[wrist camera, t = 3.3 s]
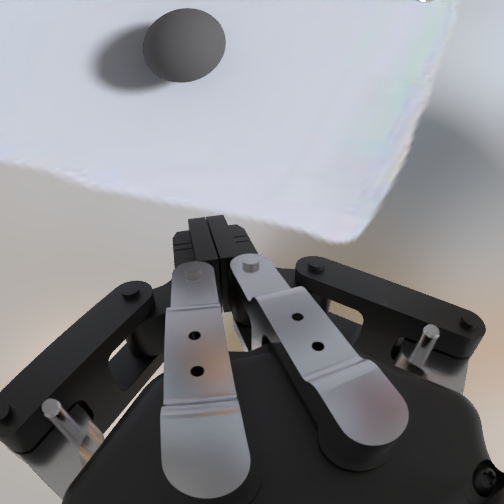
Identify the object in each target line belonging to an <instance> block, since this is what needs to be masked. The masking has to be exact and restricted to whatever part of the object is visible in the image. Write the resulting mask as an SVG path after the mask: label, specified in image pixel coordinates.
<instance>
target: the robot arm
mask: <svg viewBox="0 0 504 504" xmlns="http://www.w3.org/2000/svg"><path fill="white" fill-rule="evenodd" d="M188 224H189V231H181V232H177V233H176V234H175V236H174V237H173V250H174V263H175V269H174V271H173V273H172V279H171V281H169V282H168V283H167V284H165V285H163V286H160V287H158V288H155V289H152V287H151V286H150V285H149V284H148V283H146V282H143V281H130V282H126V283H124V284H121V285H120V286H118V287H117V288H115V289H114V290H113V291H112V292H111V293H109V294H108V295H107V296H106V297H105V298H103V299H102V300H101V301H100V302H99V303H97V304H96V305H95V306H94V307H93V308H91V309H90V310H89V311H88V312H87V313H86V314H85V315H83V316H82V317H81V318H80V319H79V320H78V321H76V322H75V323H74V324H73V325H72V326H71V327H70V328H68V329H67V330H66V331H65V332H64V333H63V334H62V335H61V336H59V337H58V338H57V339H56V340H55V341H54V342H53V343H52V344H51V345H49V346H48V347H47V348H46V349H45V350H44V351H43V352H42V353H41V354H40V355H38V356H37V357H36V358H35V359H34V360H33V361H32V362H31V363H30V364H29V365H28V366H27V367H26V368H24V369H23V370H22V371H21V372H20V373H19V374H18V375H17V376H16V377H15V378H14V379H13V380H12V381H11V382H10V383H9V384H8V385H7V386H6V387H5V388H4V389H3V390H2V391H1V392H0V441H1V442H3V443H4V444H5V445H6V446H7V447H8V449H9V450H10V451H12V452H13V453H14V454H15V455H16V456H18V457H19V458H20V459H22V460H23V461H24V462H26V463H27V464H28V465H29V466H30V467H31V468H32V469H33V470H34V472H35V473H36V474H37V475H38V476H39V477H40V478H41V479H42V480H43V481H44V482H45V483H46V484H47V485H48V486H49V487H50V488H51V489H52V490H53V491H54V492H55V493H56V494H57V495H58V496H59V497H60V498H62V499H63V502H62V504H504V473H503V472H501V471H499V470H498V469H497V468H496V467H495V466H494V464H493V463H492V461H491V459H490V457H489V454H488V452H487V449H486V445H485V442H484V437H483V431H482V425H481V420H480V417H479V414H478V412H477V410H476V409H475V407H474V406H473V404H472V403H471V402H470V401H469V400H468V399H467V398H466V397H465V396H463V390H464V385H465V380H466V373H467V367H468V361H469V359H470V357H471V356H472V354H473V353H474V351H475V349H476V348H477V346H478V344H479V343H480V341H481V339H482V337H483V336H484V334H485V331H486V328H485V324H484V322H483V321H482V319H481V318H480V317H479V316H478V315H476V314H475V313H473V312H471V311H469V310H466V309H463V308H461V307H458V306H456V305H453V304H450V303H448V302H445V301H442V300H439V299H437V298H434V297H432V296H429V295H426V294H423V293H421V292H418V291H415V290H413V289H410V288H407V287H404V286H401V285H399V284H396V283H393V282H390V281H388V280H385V279H382V278H379V277H377V276H374V275H371V274H368V273H365V272H363V271H360V270H357V269H354V268H351V267H349V266H346V265H342V264H340V263H337V262H334V261H331V260H328V259H326V258H323V257H318V256H308V257H304V258H301V259H300V260H298V261H297V263H296V268H295V269H281V268H275V267H274V265H273V264H272V263H271V262H270V260H269V259H268V258H266V257H265V256H262V255H259V254H258V253H257V251H256V249H255V247H254V246H253V244H252V242H251V241H250V238H249V237H248V235H247V233H246V231H245V229H243V228H242V227H240V226H238V225H228V224H227V222H226V220H225V218H224V216H223V215H218V216H210V217H206V219H205V217H202V218H194V219H188ZM331 300H333V301H335V302H338V303H340V304H343V305H345V306H348V307H350V308H353V309H355V310H357V311H359V312H360V313H361V314H362V316H363V319H364V322H363V325H360V324H357V323H355V322H353V321H350V320H348V319H345V318H343V317H340V316H338V315H335V314H333V313H331V312H329V306H330V301H331ZM222 306H223V310H224V312H230V311H232V314H233V326H234V329H235V331H236V334H237V336H238V338H239V340H240V343H241V345H242V347H243V349H244V352H230V351H228V347H227V341H226V335H225V329H224V324H223V318H222ZM125 339H126V341H127V343H126V344H125V345H124V346H123V347H122V348H121V350H119V352H118V353H117V354H116V355H115V356H114V357H113V358H112V359H111V360H110V361H109V362H108V360H109V357H110V355H111V353H112V352H113V351H114V350H115V349H116V348H117V347H118V346H119V345H120V344H121V343H122V342H123V341H124V340H125ZM163 362H164V373H162V374H161V375H159V376H157V377H156V378H155V379H153V380H152V381H151V382H150V383H149V384H148V385H147V386H146V387H145V388H144V389H143V391H142V392H141V393H140V394H139V396H138V397H137V398H136V400H135V401H134V402H133V403H132V405H131V406H130V407H129V409H128V410H127V411H126V413H125V414H124V415H123V417H122V418H121V419H120V420H119V422H118V423H117V424H116V426H115V427H114V428H113V429H112V431H111V432H110V433H109V435H108V436H107V437H106V439H105V440H104V436H103V434H104V433H105V431H106V430H107V429H108V428H109V427H110V425H111V424H112V423H113V422H114V421H115V419H116V418H117V417H118V416H119V414H120V413H121V412H122V411H123V410H124V409H125V407H126V406H127V405H128V404H129V403H130V401H131V400H132V399H133V398H134V397H135V396H136V394H137V393H138V392H139V391H140V390H141V388H142V387H143V386H144V385H145V383H146V382H147V381H148V380H149V379H150V378H151V376H152V375H153V374H154V373H155V372H156V370H157V369H158V368H159V367H160V366H161V364H162V363H163Z"/></svg>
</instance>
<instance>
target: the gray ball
mask: <svg viewBox="0 0 504 504" xmlns="http://www.w3.org/2000/svg"><path fill="white" fill-rule="evenodd" d="M225 45H226V41H225V34H224V31H223V29H222V27H221V25H220V24H219V22H218V21H217V20H216V19H215V18H214V17H212V16H211V15H210V14H208V13H206V12H204V11H201V10H197V9H190V8H185V9H178V10H174V11H171V12H169V13H167V14H165V15H163V16H161V17H160V18H159V19H157V20H156V21H155V22H154V23H153V24H152V26H151V27H150V28H149V30H148V32H147V34H146V36H145V39H144V43H143V53H144V58H145V60H146V63H147V65H148V66H149V68H150V69H151V70H152V71H153V72H154V73H155V74H156V75H158V76H159V77H161V78H163V79H165V80H168V81H172V82H190V81H194V80H197V79H200V78H202V77H204V76H206V75H207V74H209V73H210V72H211V71H212V70H213V69H214V68H215V67H216V66H217V65H218V64H219V62H220V61H221V59H222V57H223V54H224V51H225Z"/></svg>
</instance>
